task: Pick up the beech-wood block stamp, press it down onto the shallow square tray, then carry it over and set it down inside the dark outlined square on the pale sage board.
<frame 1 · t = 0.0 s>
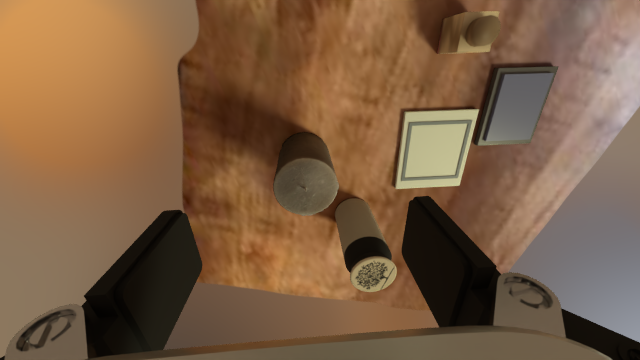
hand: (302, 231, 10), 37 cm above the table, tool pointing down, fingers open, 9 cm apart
pillar candle: (304, 155, 48), on the table
shallow square tray: (511, 107, 46), on the table
travel mug: (352, 212, 55), on the table
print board: (432, 150, 49), on the table
stamp: (454, 36, 40), on the table
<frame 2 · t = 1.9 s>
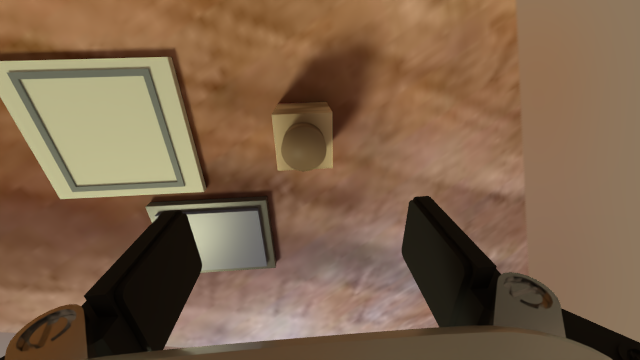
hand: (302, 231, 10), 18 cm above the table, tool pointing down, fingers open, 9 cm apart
shallow square tray: (218, 234, 32), on the table
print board: (113, 133, 25), on the table
stamp: (303, 126, 26), on the table
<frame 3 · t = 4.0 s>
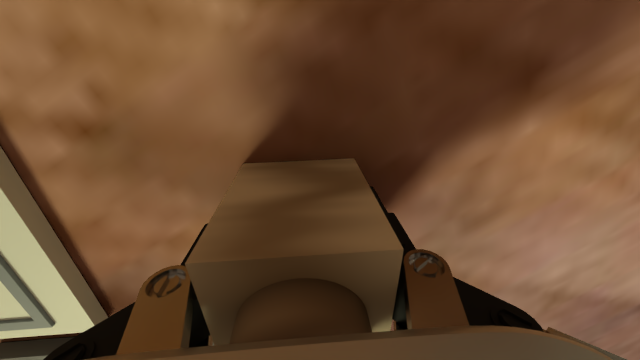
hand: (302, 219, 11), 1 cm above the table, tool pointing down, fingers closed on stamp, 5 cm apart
stamp: (302, 207, 12), on the table, touching gripper
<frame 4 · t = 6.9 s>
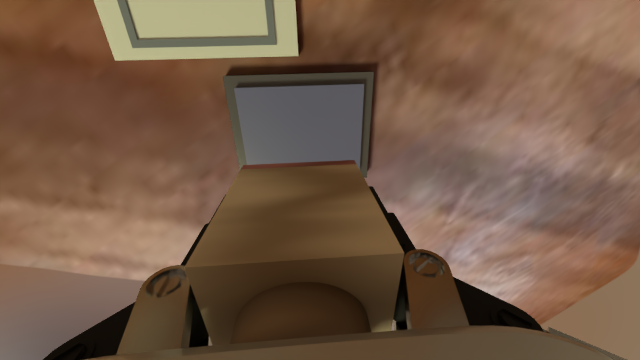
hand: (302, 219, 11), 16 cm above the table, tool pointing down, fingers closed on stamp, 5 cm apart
shallow square tray: (302, 129, 26), on the table
stamp: (302, 209, 12), point 15 cm above the table, touching gripper
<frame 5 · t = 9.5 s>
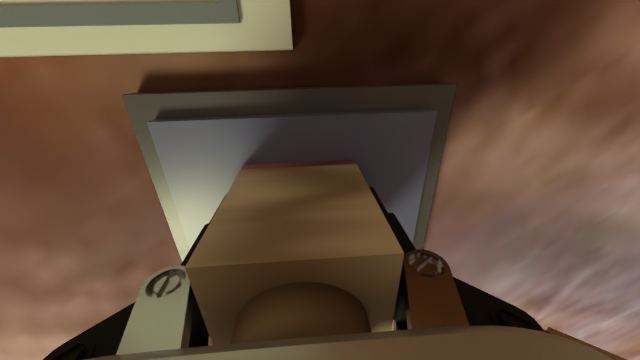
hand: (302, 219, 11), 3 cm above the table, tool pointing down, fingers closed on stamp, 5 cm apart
shallow square tray: (302, 192, 13), on the table
stamp: (302, 209, 12), point 2 cm above the table, touching gripper, shallow square tray
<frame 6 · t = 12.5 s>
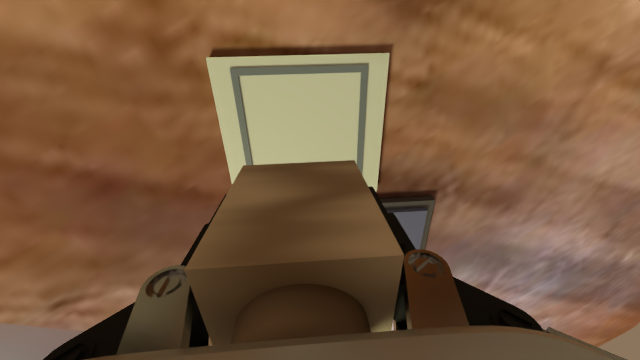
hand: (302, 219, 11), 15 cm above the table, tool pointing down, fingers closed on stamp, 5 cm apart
shallow square tray: (370, 235, 31), on the table
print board: (303, 131, 25), on the table
stamp: (302, 209, 12), point 14 cm above the table, touching gripper
when the fingers open (2 cm above the table, at t = 15.1 s): stamp stays where it is, resting on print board.
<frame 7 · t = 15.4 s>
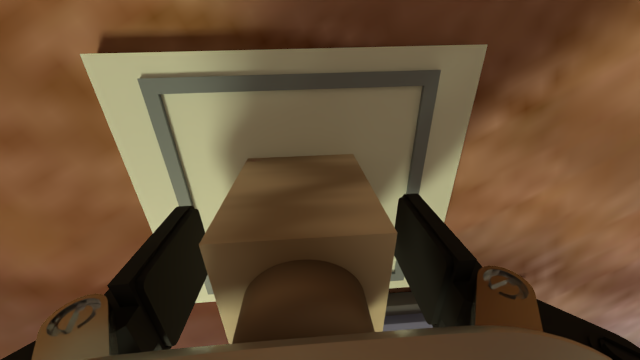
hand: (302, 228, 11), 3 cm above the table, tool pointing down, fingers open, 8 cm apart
shallow square tray: (409, 337, 20), on the table
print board: (302, 194, 13), on the table
stamp: (303, 201, 13), point 1 cm above the table, touching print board
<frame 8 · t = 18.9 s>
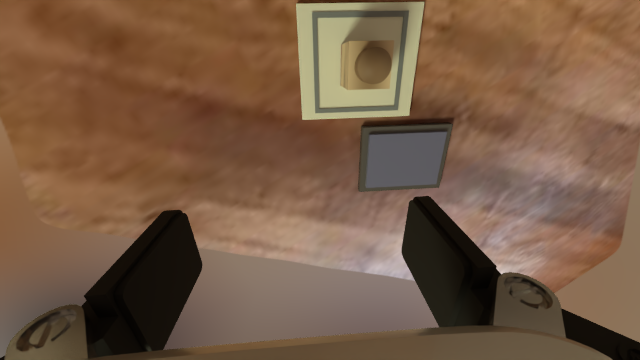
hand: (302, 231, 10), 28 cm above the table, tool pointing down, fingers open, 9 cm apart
shallow square tray: (401, 157, 40), on the table
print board: (357, 65, 33), on the table
stamp: (359, 65, 33), point 1 cm above the table, touching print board
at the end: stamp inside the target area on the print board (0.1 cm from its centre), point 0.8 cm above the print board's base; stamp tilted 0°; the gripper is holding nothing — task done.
